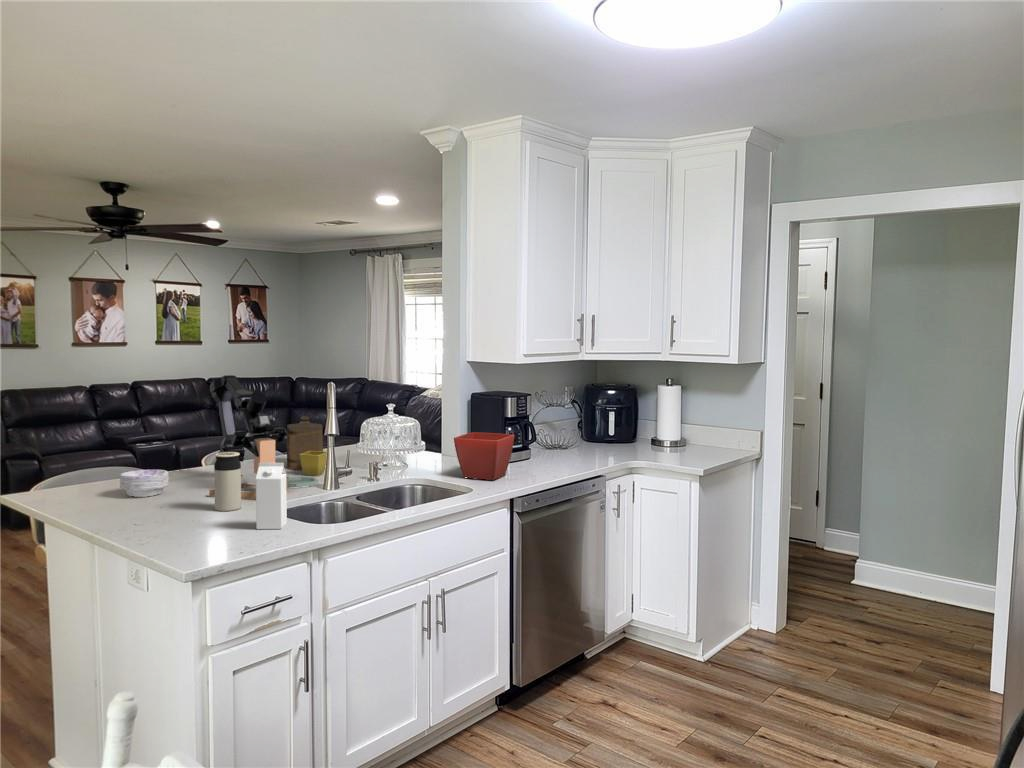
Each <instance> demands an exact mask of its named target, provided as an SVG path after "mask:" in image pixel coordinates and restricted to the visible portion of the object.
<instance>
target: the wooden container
mask: <svg viewBox="0 0 1024 768" xmlns="http://www.w3.org/2000/svg"><path fill="white" fill-rule="evenodd" d="M309 420H310V417H309V416H308V415H303V416H301V417H300V422H299V423H292V424H291V423H290V424H287V425H286V431H287V434H286V467H287V469H288V468H289V470H292V469H296V470H295V471H303V470H302V467H301V461H300V454H302V453H305V452H307V451H324V440H323V438H324V437H323V435H324V434H323V424H322V423H315V422H310V421H309Z"/></svg>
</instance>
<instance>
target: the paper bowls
mask: <svg viewBox="0 0 1024 768" xmlns="http://www.w3.org/2000/svg"><path fill="white" fill-rule="evenodd" d="M167 486H169V471H168V470H165V469H139V470H130V471H125V472H122V473H120V474H119V488H120V489H122V490H124V491H125V492H126V493H127V495H128V496H130V497H132V496H134V497H133V498H148V497H147V496H150V497H155V496H158V495H159V494H161V493H162V491H163V490H164V488H165V487H167ZM157 494H158V495H157ZM154 495H155V496H154Z"/></svg>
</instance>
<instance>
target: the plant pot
mask: <svg viewBox="0 0 1024 768" xmlns="http://www.w3.org/2000/svg"><path fill="white" fill-rule="evenodd" d="M514 440H515V434H513V433H511V434H510V433H493V432H478V431H477V432H476V431H474V432H473V431H472V432H469V433H465V434H462V435H461V434H460V435H459V436H456V437H453V443H454V449H455V453H456V458H457V461H458V464H459V467H460V470H461V474H462V476H463V478H464V477H467V478H476V479H486V480H485V481H488V480H494V481H496V480H498V479H500V478H502V477H504V476H505V475H506V472H507V470H508V467H509V463H510V461H511V456H512V452H513V447H514ZM497 478H498V479H497ZM476 479H475V480H476ZM495 479H496V480H495Z"/></svg>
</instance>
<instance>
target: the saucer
mask: <svg viewBox="0 0 1024 768" xmlns="http://www.w3.org/2000/svg"><path fill="white" fill-rule="evenodd" d="M316 483H318V484H319V479H317V478H316V477H312V476H311V477H310V476H296V477H295V476H294V477H289V487H302V486H312V485H314V484H316ZM312 487H313V486H312Z"/></svg>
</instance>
